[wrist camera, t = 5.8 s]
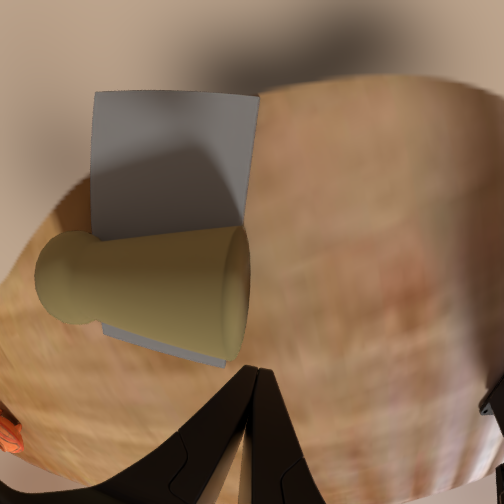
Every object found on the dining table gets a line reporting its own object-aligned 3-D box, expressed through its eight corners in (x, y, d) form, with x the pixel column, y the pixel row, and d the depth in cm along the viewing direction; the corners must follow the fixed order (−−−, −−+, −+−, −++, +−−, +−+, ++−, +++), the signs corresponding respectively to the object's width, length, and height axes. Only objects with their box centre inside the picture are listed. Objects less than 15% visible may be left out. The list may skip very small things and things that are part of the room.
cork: (250, 215, 16) (79, 215, 18) (218, 241, 10) (10, 235, 12) (250, 323, 18) (91, 303, 20) (224, 388, 12) (33, 343, 14)
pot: (-5, 413, 36) (-24, 433, 30) (3, 395, 35) (-19, 417, 28) (27, 444, 37) (10, 466, 31) (38, 430, 36) (19, 454, 29)
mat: (260, 97, 14) (258, 97, 13) (225, 364, 20) (224, 368, 20) (99, 92, 14) (94, 92, 14) (106, 331, 21) (103, 334, 21)
